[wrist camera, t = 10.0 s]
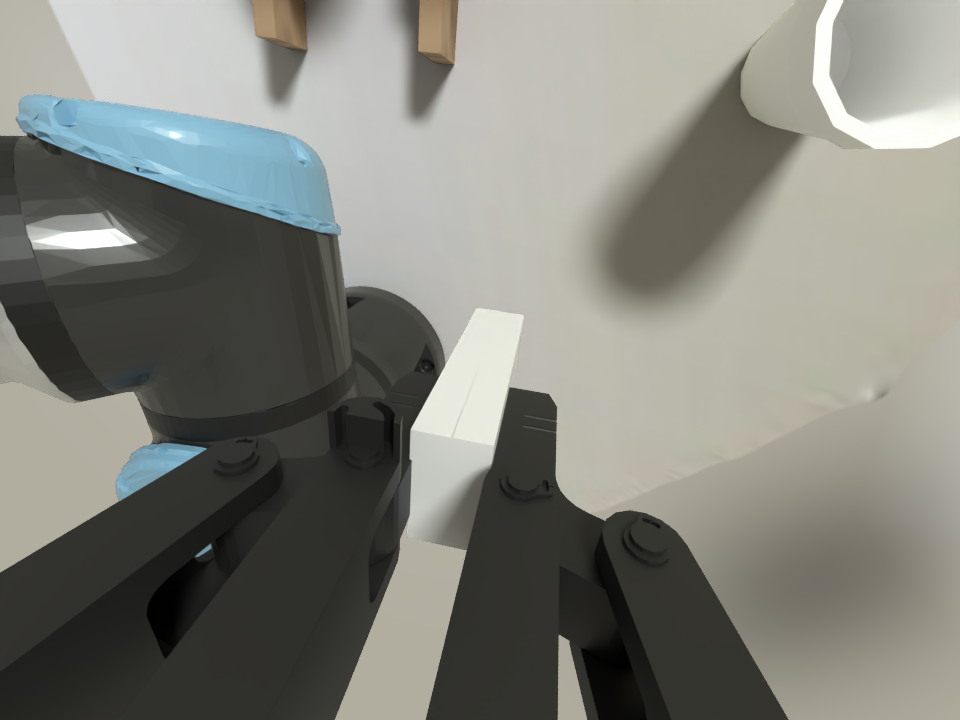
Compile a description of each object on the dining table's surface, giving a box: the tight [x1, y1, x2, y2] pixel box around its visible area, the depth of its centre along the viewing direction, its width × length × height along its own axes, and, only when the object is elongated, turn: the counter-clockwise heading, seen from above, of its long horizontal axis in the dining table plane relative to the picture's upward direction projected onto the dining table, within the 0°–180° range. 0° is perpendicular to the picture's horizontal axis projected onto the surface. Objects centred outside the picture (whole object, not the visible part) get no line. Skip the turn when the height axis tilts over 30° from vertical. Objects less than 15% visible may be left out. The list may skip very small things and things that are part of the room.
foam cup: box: [740, 0, 960, 149], centre depth 22 cm, size 10×9×13 cm
